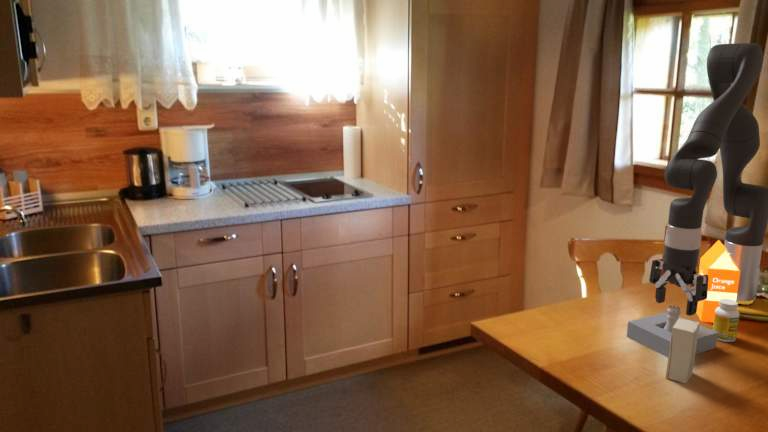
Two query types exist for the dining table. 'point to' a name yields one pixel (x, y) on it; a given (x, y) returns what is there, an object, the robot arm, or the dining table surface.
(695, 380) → the dining table surface
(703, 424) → the dining table surface
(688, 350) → the skincare box
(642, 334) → the socket block
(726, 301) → the supplement bottle
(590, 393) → the dining table surface
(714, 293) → the orange juice
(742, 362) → the dining table surface
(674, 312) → the rook chess piece
